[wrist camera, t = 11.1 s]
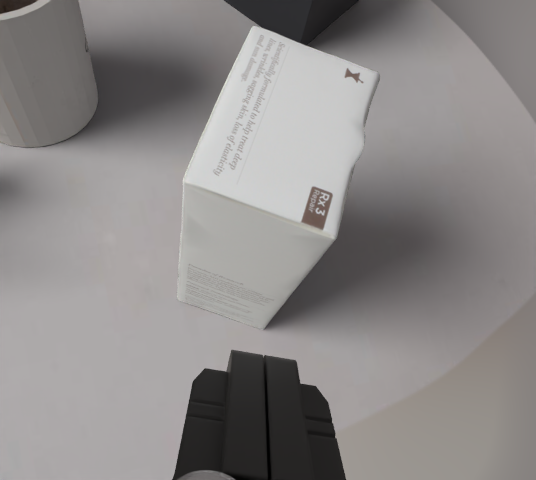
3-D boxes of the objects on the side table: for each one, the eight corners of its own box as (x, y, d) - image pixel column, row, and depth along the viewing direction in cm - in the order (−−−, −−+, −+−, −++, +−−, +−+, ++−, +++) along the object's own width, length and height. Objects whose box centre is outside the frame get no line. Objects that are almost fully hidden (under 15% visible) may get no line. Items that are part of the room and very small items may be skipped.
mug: (115, 126, 33) (93, 3, 24) (-16, 163, 30) (-95, 37, 21) (60, 9, 37) (23, -135, 28) (-61, 31, 34) (-144, -122, 25)
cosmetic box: (218, 197, 32) (247, 11, 19) (301, 226, 32) (387, 61, 19) (173, 308, 28) (170, 172, 15) (267, 340, 29) (345, 233, 15)
